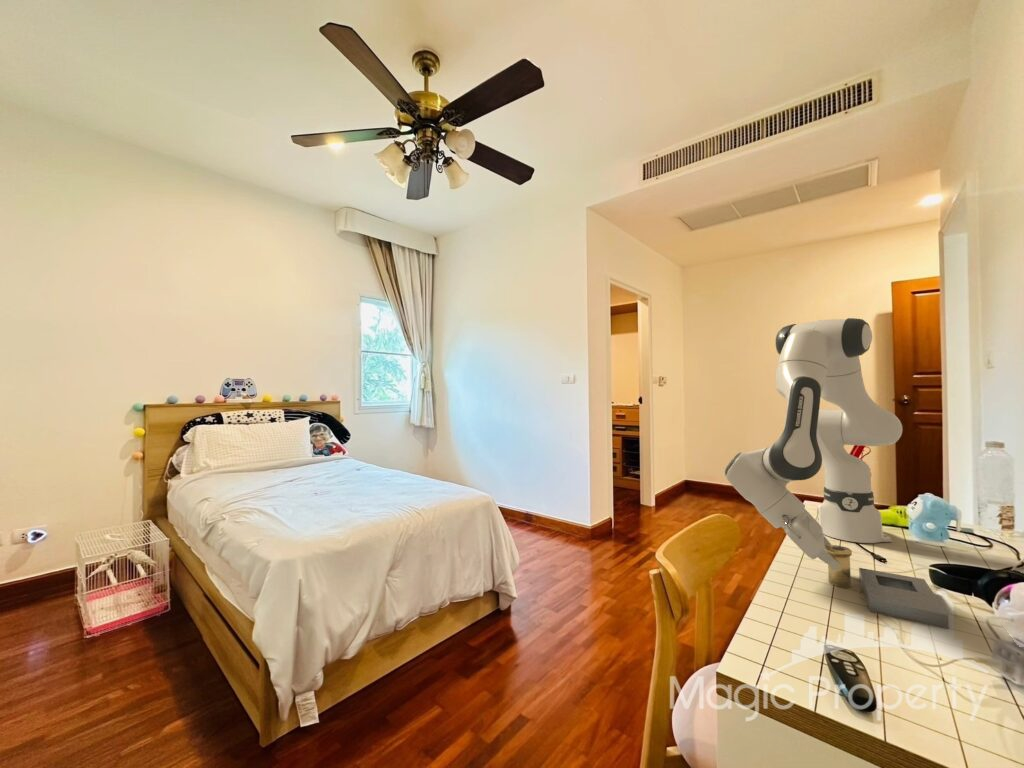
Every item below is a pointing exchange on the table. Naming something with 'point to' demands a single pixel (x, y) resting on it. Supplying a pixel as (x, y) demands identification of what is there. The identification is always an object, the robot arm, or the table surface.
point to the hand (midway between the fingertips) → (836, 560)
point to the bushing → (842, 574)
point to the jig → (902, 597)
